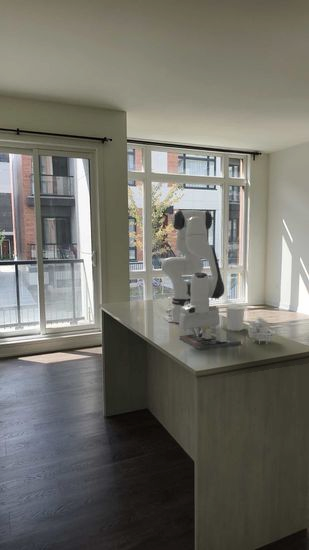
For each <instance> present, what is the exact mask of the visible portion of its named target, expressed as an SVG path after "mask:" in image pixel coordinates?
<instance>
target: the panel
mask: <svg viewBox="0 0 309 550" xmlns="http://www.w3.org/2000/svg"><path fill="white" fill-rule="evenodd" d="M179 340H181V341H182V342H184V343H186V344H188V345H190V346H192V347H193V348H195V349H197V350H199V351H203V350H204V351H205V350H210V348H212V349H218V347H219V348H225V347H233V346H240V345H242V341H241V340H239V339H237V338H234V337H231V336H229V335H227V334H226V342H219V341H217V340H216V331H212V339H205V338H202V336H199V337H197V336H196V333H194V334H193V333H192V334H186V335H180V336H179Z"/></svg>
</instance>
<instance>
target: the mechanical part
mask: <svg viewBox="0 0 309 550" xmlns="http://www.w3.org/2000/svg"><path fill="white" fill-rule="evenodd" d="M271 328H272V327H271V325H268V321H267V320H266V319H264V318H262V317H260V316H258V317H257V318H256V319H255V320H254V321H253V320H250V321H249V324H248V338H249V339H255V342H256V343H258V344H259V345H260V344H261V342H265V345H268V343H269V341H271V340H272V337H275V336H276V332H275V331H274V330H272V329H271Z"/></svg>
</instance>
